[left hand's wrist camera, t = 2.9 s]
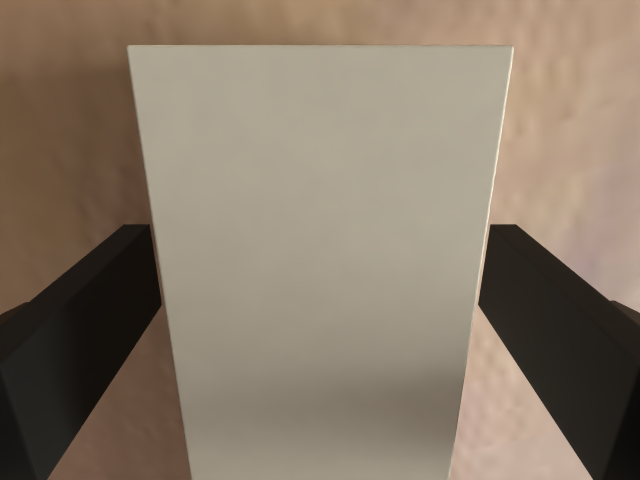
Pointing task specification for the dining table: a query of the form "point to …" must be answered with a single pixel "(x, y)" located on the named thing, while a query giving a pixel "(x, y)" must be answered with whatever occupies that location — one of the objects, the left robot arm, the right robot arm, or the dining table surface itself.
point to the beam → (320, 247)
